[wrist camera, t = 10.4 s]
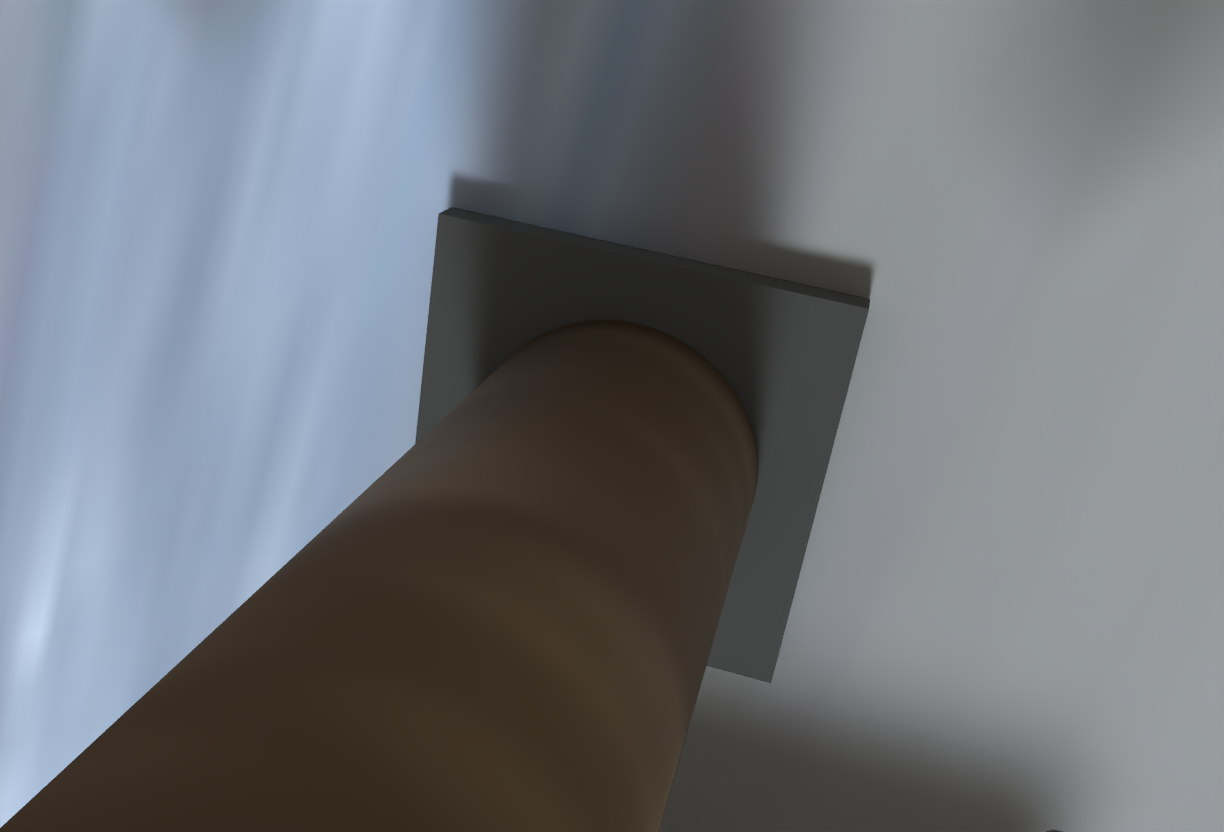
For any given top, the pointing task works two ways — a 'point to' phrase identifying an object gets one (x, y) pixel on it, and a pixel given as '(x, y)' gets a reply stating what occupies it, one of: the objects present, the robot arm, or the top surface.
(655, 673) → the dowel
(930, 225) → the top surface
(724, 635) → the pad
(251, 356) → the top surface
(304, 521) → the top surface
